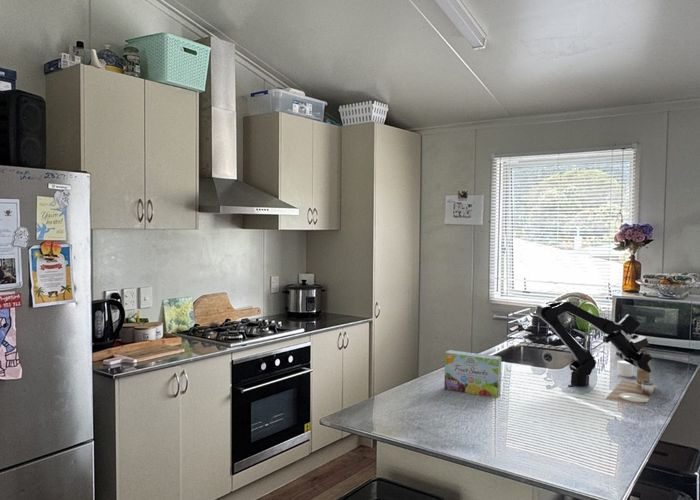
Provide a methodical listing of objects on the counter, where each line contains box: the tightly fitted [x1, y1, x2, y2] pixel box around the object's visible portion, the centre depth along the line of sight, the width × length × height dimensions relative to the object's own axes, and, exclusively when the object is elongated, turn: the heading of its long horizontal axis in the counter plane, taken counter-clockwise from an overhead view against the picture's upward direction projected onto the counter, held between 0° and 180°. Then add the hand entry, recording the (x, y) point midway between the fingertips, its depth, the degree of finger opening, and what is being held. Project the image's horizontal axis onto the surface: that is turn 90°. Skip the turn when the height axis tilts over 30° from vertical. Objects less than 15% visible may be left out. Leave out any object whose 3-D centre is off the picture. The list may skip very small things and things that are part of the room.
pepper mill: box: [636, 348, 652, 387], centre depth 235 cm, size 5×5×15 cm
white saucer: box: [619, 393, 650, 403], centre depth 218 cm, size 10×10×1 cm
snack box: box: [443, 349, 502, 399], centre depth 225 cm, size 21×6×15 cm, turn 62°
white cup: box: [616, 359, 635, 378], centre depth 253 cm, size 7×7×7 cm
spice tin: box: [641, 381, 655, 396], centre depth 225 cm, size 4×4×4 cm
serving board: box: [605, 380, 657, 407], centre depth 226 cm, size 34×13×1 cm, turn 145°
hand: (647, 370), depth 235 cm, fingers closed on pepper mill, 5 cm apart
